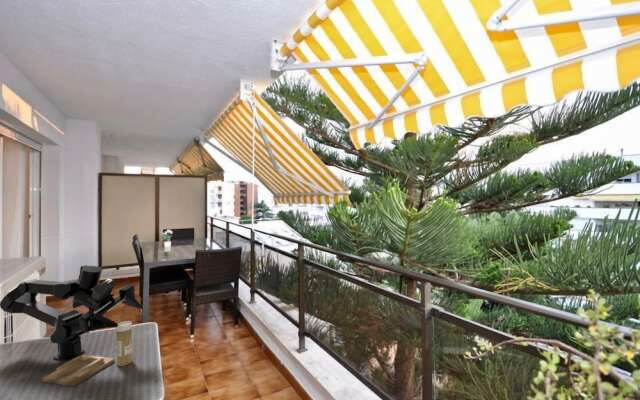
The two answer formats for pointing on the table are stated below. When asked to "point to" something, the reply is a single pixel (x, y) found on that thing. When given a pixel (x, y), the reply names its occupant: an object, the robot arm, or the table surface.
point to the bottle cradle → (77, 370)
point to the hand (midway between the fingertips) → (129, 315)
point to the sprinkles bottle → (124, 343)
